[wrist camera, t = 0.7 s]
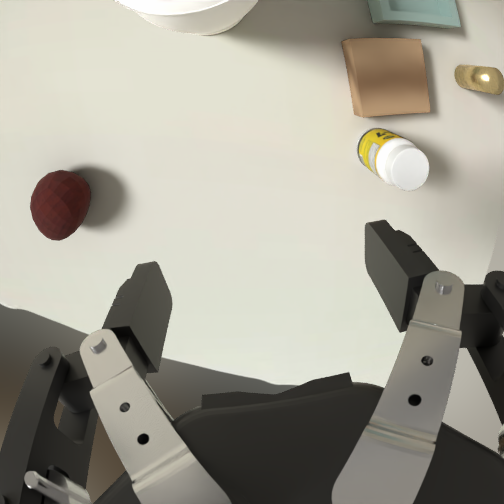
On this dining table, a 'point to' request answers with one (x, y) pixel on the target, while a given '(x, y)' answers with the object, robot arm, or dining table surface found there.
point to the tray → (415, 12)
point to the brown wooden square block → (386, 76)
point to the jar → (191, 14)
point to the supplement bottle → (393, 159)
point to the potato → (60, 204)
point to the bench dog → (480, 78)
